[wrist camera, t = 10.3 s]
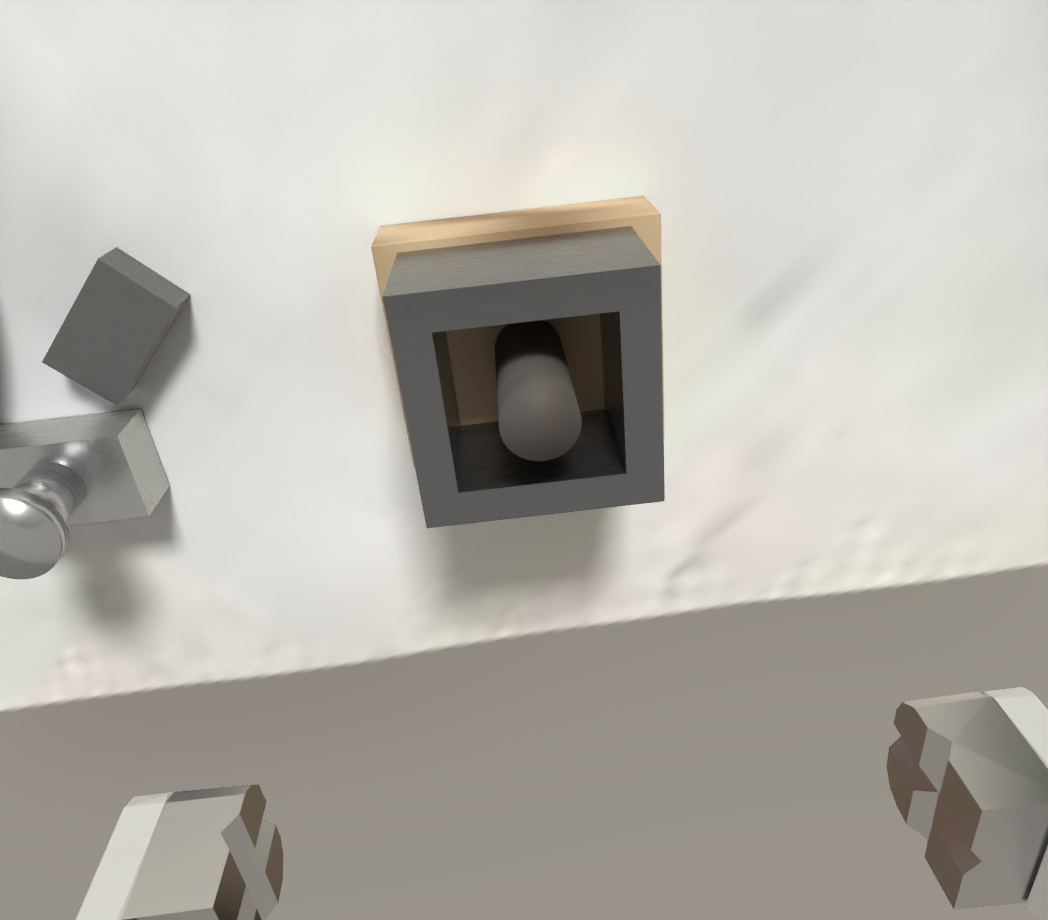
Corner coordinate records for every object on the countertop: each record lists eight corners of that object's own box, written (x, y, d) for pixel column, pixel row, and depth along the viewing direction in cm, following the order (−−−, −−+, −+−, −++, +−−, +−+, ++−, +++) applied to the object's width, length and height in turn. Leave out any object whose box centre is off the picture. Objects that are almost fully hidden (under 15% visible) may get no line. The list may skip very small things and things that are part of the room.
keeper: (418, 431, 27) (401, 560, 21) (380, 226, 24) (344, 303, 17) (649, 404, 27) (704, 525, 21) (643, 196, 24) (707, 262, 17)
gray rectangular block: (136, 384, 26) (117, 405, 25) (66, 343, 26) (42, 361, 24) (193, 291, 25) (176, 308, 23) (120, 244, 24) (98, 258, 23)
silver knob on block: (28, 501, 28) (-55, 590, 23) (-8, 425, 26) (-104, 506, 22) (169, 485, 28) (112, 571, 23) (140, 408, 26) (74, 485, 22)
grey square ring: (433, 457, 25) (426, 527, 22) (396, 252, 22) (382, 296, 18) (638, 434, 25) (664, 500, 21) (630, 225, 22) (660, 264, 18)
